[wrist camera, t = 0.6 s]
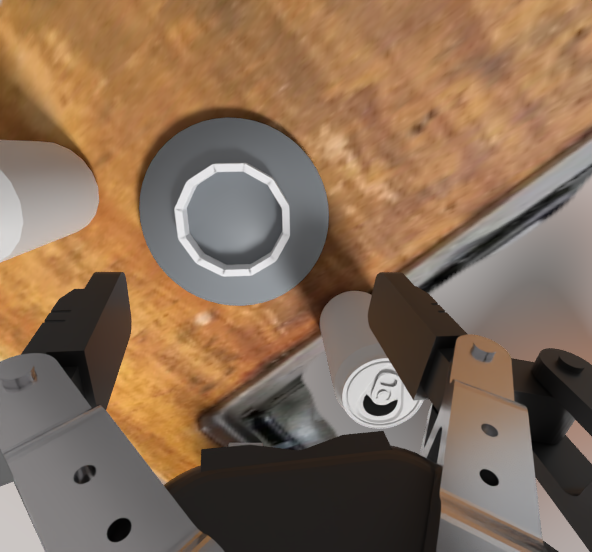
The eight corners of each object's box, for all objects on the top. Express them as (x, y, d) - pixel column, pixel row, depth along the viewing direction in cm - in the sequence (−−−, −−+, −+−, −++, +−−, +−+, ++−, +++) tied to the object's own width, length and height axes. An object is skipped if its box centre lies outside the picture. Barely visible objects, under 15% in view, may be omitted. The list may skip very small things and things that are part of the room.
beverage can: (312, 340, 36) (326, 427, 25) (328, 281, 34) (351, 346, 23) (372, 351, 37) (413, 440, 26) (392, 294, 35) (445, 363, 24)
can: (92, 138, 29) (-27, 130, 18) (113, 229, 32) (20, 273, 21) (-2, 144, 29) (-180, 140, 18) (26, 235, 32) (-114, 282, 20)
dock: (264, 77, 28) (262, 70, 26) (358, 246, 33) (364, 253, 31) (104, 186, 31) (89, 189, 28) (214, 329, 35) (209, 342, 33)
